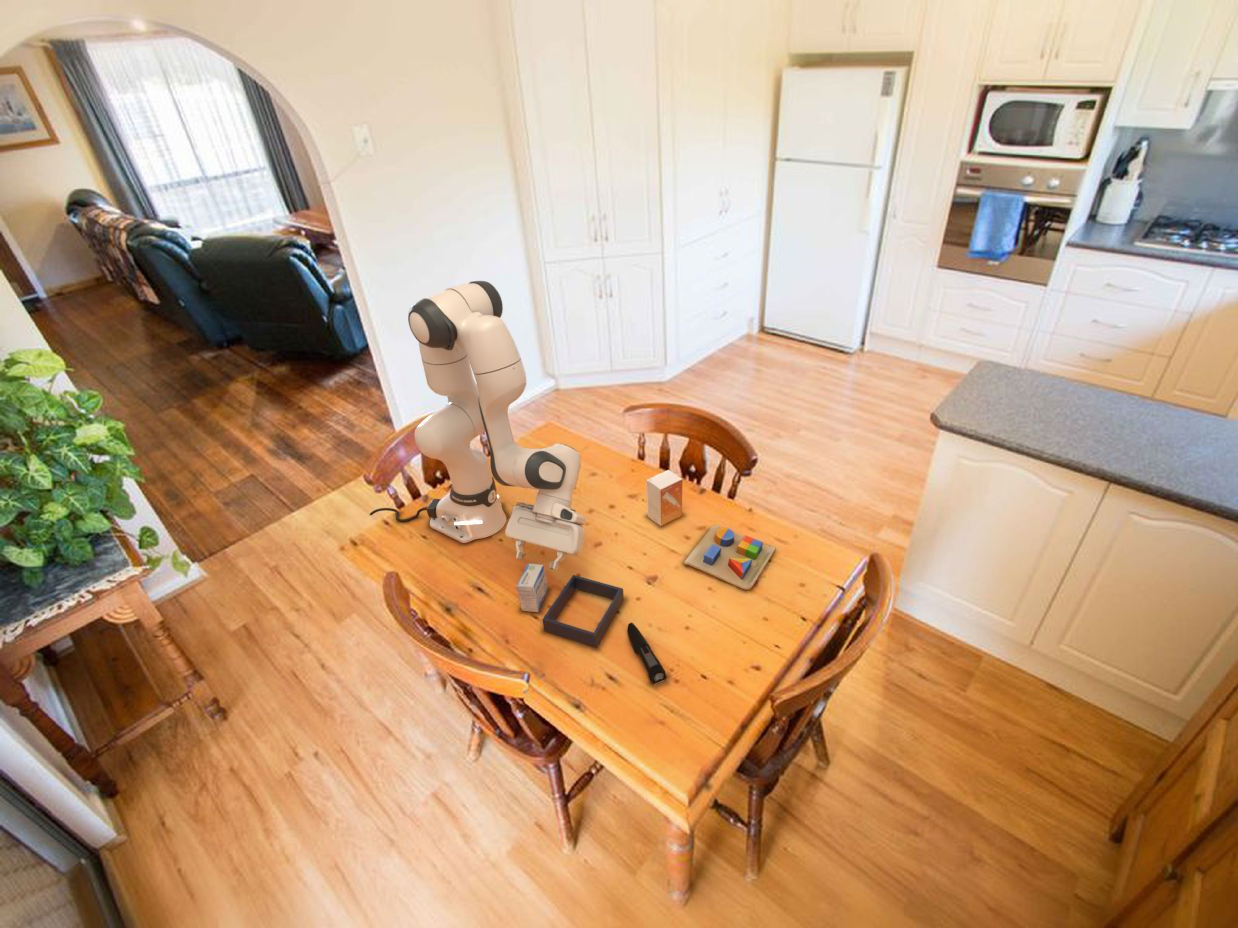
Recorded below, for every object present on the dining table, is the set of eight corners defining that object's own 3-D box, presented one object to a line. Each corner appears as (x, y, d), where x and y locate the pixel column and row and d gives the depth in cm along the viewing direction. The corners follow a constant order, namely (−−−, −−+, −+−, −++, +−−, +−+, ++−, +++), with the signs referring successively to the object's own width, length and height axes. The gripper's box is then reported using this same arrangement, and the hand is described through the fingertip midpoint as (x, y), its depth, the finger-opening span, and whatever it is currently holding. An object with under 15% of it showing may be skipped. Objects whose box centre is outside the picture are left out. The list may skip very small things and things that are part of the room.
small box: (661, 527, 171) (660, 489, 164) (647, 516, 176) (645, 479, 168) (683, 515, 175) (683, 478, 168) (668, 505, 179) (668, 468, 172)
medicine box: (538, 613, 147) (533, 587, 142) (521, 611, 148) (515, 585, 143) (548, 589, 153) (544, 564, 149) (531, 587, 154) (526, 562, 149)
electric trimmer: (638, 628, 142) (638, 619, 140) (667, 679, 129) (667, 669, 128) (623, 634, 141) (622, 624, 139) (651, 685, 128) (651, 676, 127)
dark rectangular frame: (544, 631, 142) (542, 619, 140) (574, 586, 154) (573, 574, 152) (596, 648, 137) (595, 636, 135) (623, 600, 149) (623, 588, 147)
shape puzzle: (750, 593, 149) (752, 580, 146) (682, 566, 158) (682, 554, 155) (776, 550, 161) (778, 538, 158) (711, 528, 170) (711, 516, 167)
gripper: (509, 498, 151) (493, 553, 149) (582, 516, 144) (567, 574, 142) (521, 502, 157) (506, 555, 155) (592, 520, 150) (577, 575, 148)
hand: (536, 564), depth 149 cm, fingers open, 8 cm apart
